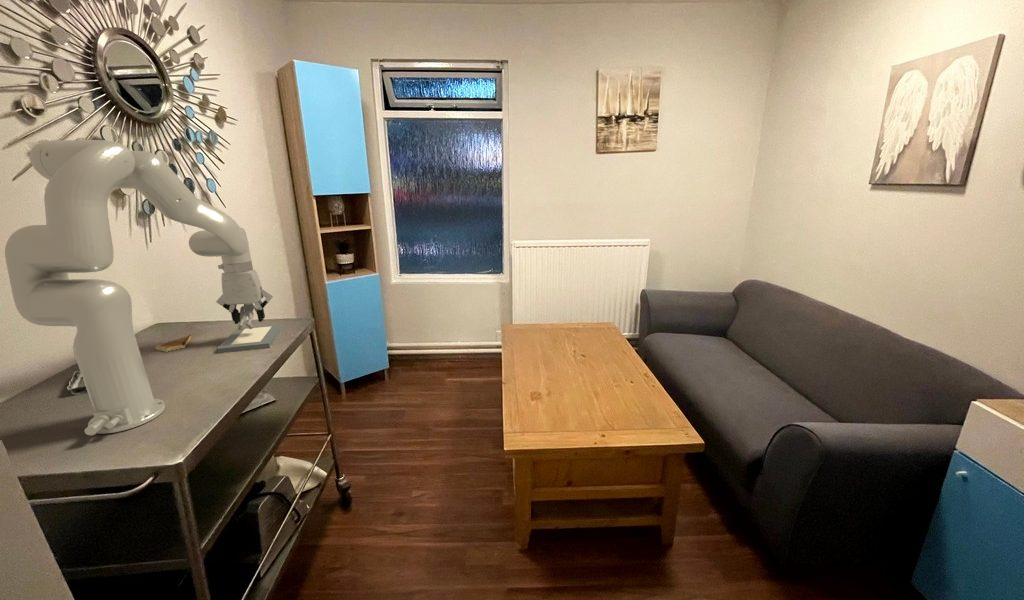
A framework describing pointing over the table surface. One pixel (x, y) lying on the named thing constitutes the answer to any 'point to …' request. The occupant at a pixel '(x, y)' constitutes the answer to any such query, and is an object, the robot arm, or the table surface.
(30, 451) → the table surface
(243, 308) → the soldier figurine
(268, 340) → the base plate
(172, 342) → the shard
